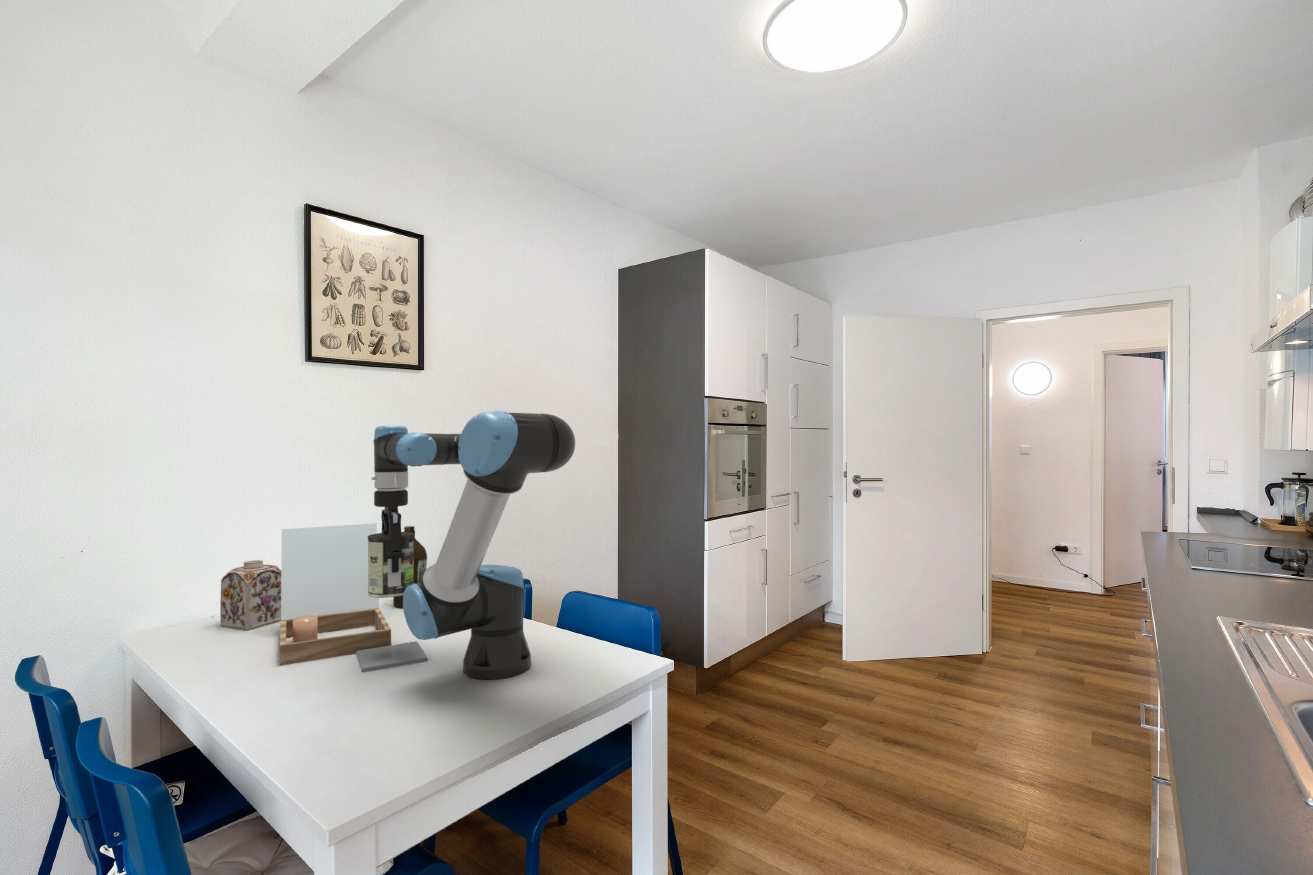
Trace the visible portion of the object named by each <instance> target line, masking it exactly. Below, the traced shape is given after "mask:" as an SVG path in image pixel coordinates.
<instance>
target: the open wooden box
mask: <svg viewBox="0 0 1313 875" xmlns="http://www.w3.org/2000/svg"><path fill="white" fill-rule="evenodd" d="M317 617H318V634H323V633H324V632H325V633H332V632H337V631H343V630H345V631H346V630H352V629H358V628H367V627H373V626H374V627H375V629H376V630H370V631H365V632H357V633H356V632H355V633H352V634H351V633H350V634H344V635H337V636H329V637H324V638H322V637H321V638H318V639H315V640H308V641H301V642H294V643H293V642H289V643H287V639H288V638H293V619H289V620H281V621H280V633H279V635H280V636H279V666H285V664H286V665H291V664H296V663H297V664H298V663H303V662H310V661H317V660H321V659H322V660H323V659H329V658H335V657H342V656H347V655H353V654H356V651H359V650H365V649H371V648H378V647H384V646H390V645H392V629H391V627H390V625H389V623H388V621H387V620H386V618H385V616H384V614H383V612H382V611H381V608H380V607H379V608H375V609H367V610H359V611H351V612H344V613H336V614H328V615H320V616H317Z"/></svg>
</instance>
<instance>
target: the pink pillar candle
mask: <svg viewBox="0 0 1313 875" xmlns="http://www.w3.org/2000/svg"><path fill="white" fill-rule="evenodd" d="M318 634H319V633H318V617H317V616H302V617H298V618H295V619H293V637H292V643H294V642H301V641H308V640H315V639H319V638H318Z"/></svg>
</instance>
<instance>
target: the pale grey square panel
mask: <svg viewBox="0 0 1313 875" xmlns="http://www.w3.org/2000/svg"><path fill="white" fill-rule="evenodd" d="M377 531H378V529H377V523H361V524H346V525H345V524H344V525H329V526H316V527H315V526H313V527H297V528H283V529H281V548H280V549H281V552H280V553H281V554H280V555H281V556H280V557H281V559H280V560H281V564H280V565H281V567H280V570H281V620H289V619H295V618H298V617H302V616H320V615H328V614H336V613H344V612H351V611H359V610H367V609H375V608H379V609H380V601H379V600H380V598H374V597H370V596H368V536H369V535H372V534H378V532H377Z"/></svg>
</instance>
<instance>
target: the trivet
mask: <svg viewBox="0 0 1313 875" xmlns="http://www.w3.org/2000/svg"><path fill="white" fill-rule="evenodd" d="M355 655H356V657H357V661H358V664H359V667H360V670H361V672H362V673H365V672H371V671H376V670H382V669H383V670H384V669H388V668H392V667H393V668H394V667H400V666H407V665H410V664H411V665H412V664H416V663H422V662H427V661H428V657H427V655H426V653H425V652H424V650H423V649H422V647H421V646H420V644H419V643H418V641H416V640H415V641H410V642H405V643H404V642H403V643H398V644H397V643H396V644H391V645H390V646H384V647H378V648H371V649H365V650H359V651H356V653H355Z"/></svg>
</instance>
